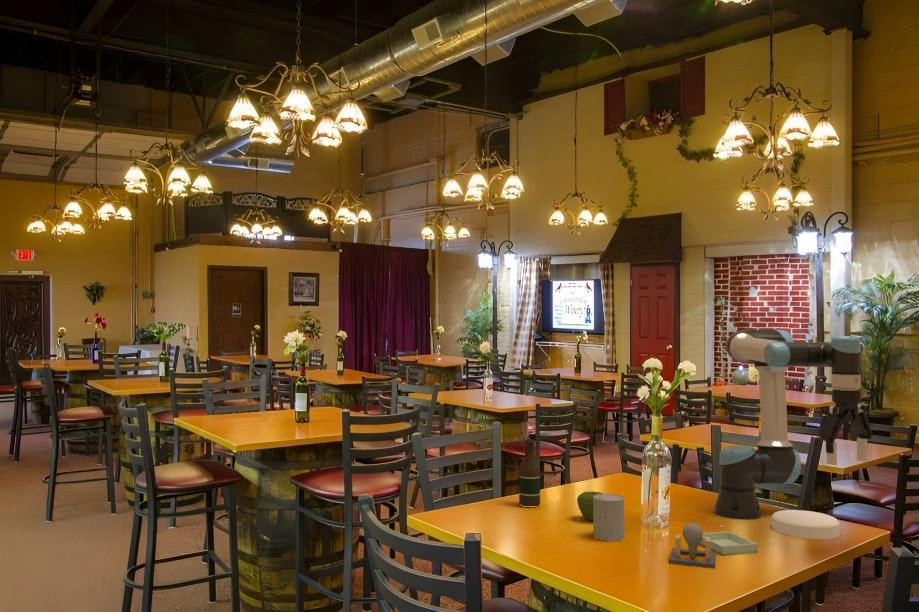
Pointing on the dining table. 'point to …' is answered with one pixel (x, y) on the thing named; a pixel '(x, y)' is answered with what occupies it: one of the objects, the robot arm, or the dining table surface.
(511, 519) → the dining table surface
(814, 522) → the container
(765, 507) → the dining table surface
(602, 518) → the gray cylinder
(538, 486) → the beer bottle
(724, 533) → the parts tray
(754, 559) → the dining table surface
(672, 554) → the frame
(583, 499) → the apple
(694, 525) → the light bulb
